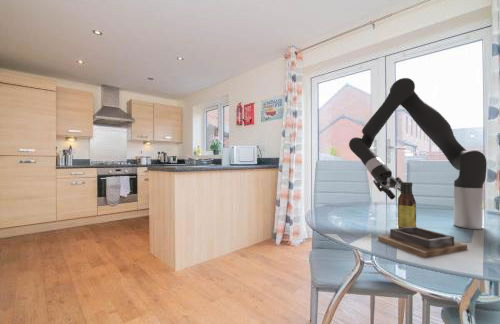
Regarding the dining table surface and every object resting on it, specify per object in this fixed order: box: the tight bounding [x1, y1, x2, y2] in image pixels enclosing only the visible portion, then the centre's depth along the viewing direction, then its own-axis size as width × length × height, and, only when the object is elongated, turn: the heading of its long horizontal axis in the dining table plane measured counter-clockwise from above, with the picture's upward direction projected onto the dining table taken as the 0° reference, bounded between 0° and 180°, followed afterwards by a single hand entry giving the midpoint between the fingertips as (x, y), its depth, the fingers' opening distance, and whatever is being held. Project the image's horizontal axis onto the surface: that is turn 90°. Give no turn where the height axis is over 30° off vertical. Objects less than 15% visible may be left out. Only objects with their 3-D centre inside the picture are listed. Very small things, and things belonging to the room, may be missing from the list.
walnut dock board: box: [377, 226, 468, 259], centre depth 80 cm, size 20×16×4 cm
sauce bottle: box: [397, 181, 417, 228], centre depth 96 cm, size 6×6×20 cm
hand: (401, 197), depth 98 cm, fingers open, 8 cm apart
